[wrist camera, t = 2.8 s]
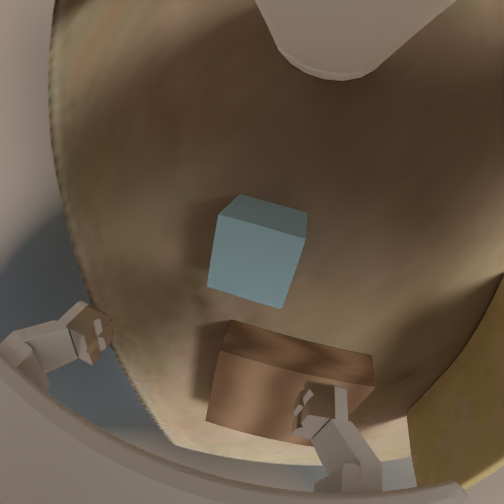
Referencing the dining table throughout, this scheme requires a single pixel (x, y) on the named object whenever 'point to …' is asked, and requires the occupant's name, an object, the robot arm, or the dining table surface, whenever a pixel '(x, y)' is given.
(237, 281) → the cube
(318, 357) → the riser
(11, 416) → the robot arm
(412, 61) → the dining table surface
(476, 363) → the cheese
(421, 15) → the bottle
